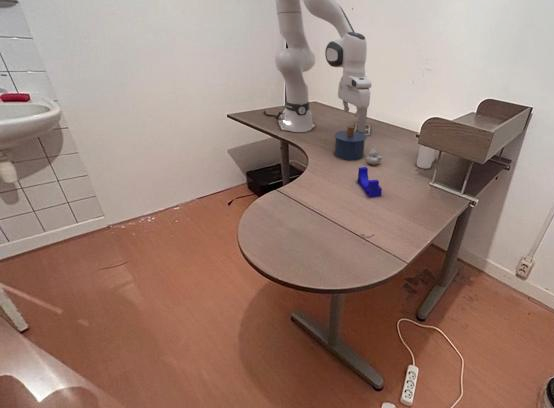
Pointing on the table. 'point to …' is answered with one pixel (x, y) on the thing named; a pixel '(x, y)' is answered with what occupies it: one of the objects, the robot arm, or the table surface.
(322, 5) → the robot arm
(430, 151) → the can
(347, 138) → the pail lid
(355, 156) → the pail
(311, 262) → the table surface
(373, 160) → the rubber duck
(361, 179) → the blue l-shaped block
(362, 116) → the network device
